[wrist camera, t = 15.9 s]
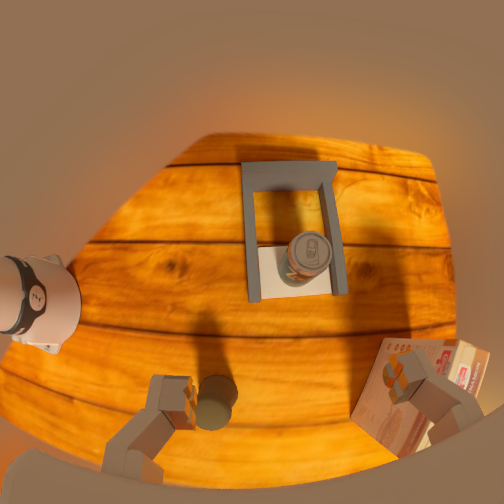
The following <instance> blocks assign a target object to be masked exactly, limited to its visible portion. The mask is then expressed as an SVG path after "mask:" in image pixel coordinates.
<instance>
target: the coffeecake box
mask: <svg viewBox="0 0 504 504" xmlns="http://www.w3.org/2000/svg"><path fill="white" fill-rule="evenodd" d="M418 347H421V348H422V349H423V350H424V351H425V353H426V355H427V357H428V358H429V360H430V362H431V364H432V366H433V368H434V369H435V371H436V373H437V374H439V373H440V374H441V375H443V376H444V377H446V378H447V379H449V380H450V381H452V382H454V383H455V384H457V385H458V386H460V387H461V388H463V389H465V390H466V391H468V392H469V393H471V394H472V395H474V397H475V398H476V397H477V394H478V391H479V388H480V386H481V382H482V379H483V376H484V373H485V370H486V366H487V362H488V359H489V355H490V353H489V352H487V351H485V350H483V349H481V348H478V347H476V346H474V345H472V344H470V343H468V342H465V341H463V340H461V339H405V338H384V339H383V341H382V344H381V347H380V349H379V352H378V355H377V357H376V360H375V363H374V365H373V368H372V370H371V373H370V375H369V377H368V380H367V382H366V384H365V387H364V389H363V391H362V394H361V396H360V398H359V400H358V402H357V404H356V407H355V409H354V411H353V413H352V415H351V417H350V419H351V420H352V421H353V422H355V423H356V424H357V425H358V426H359V427H361V428H362V429H363V430H364V431H366V432H367V433H368V434H369V435H370V436H372V437H373V438H374V439H375V440H376V441H378V442H379V443H380V444H381V445H383V446H384V447H385V448H387V449H388V450H389V451H390V452H392V453H393V454H394V455H395V456H397V457H398V458H399V459H400V458H403V457H406V456H408V455H411V454H413V453H416V452H418V451H420V450H423V449H425V448H427V447H429V446H431V443H430V440H429V438H428V435H427V432H428V430H429V429H431V428H432V427H433V426H434V425H435V424H434V423H433V422H431V421H430V420H429V419H428V418H427V417H426V416H424V415H423V414H422V413H421V412H420V411H419V410H418V409H416V408H415V407H414V406H413V405H412V404H411V403H410V402H409V401H406V402H403V403H399V404H396V405H393V404H392V401H391V399H390V396H389V394H388V393H389V389H390V388H388V387H387V386H385V384H384V381H383V377H382V375H383V369H384V367H385V365H386V364H388V363H389V361H388V359H389V357H390V355H392V354H395V353H399V352H403V351H406V350H411V349H414V348H418Z"/></svg>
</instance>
